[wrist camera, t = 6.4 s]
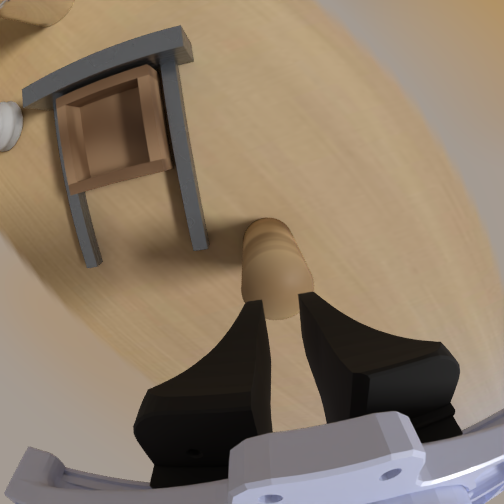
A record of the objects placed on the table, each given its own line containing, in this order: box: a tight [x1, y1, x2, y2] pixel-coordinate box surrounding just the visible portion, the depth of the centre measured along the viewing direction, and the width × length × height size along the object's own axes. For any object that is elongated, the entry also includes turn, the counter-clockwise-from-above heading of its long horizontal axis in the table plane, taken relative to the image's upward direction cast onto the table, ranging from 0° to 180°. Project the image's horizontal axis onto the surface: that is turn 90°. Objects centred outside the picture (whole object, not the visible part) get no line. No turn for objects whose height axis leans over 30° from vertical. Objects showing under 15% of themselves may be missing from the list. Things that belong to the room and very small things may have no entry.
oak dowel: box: [241, 218, 314, 320], centre depth 18 cm, size 4×4×8 cm
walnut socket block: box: [56, 64, 174, 195], centre depth 18 cm, size 7×7×3 cm
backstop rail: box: [22, 25, 209, 268], centre depth 18 cm, size 14×12×4 cm
